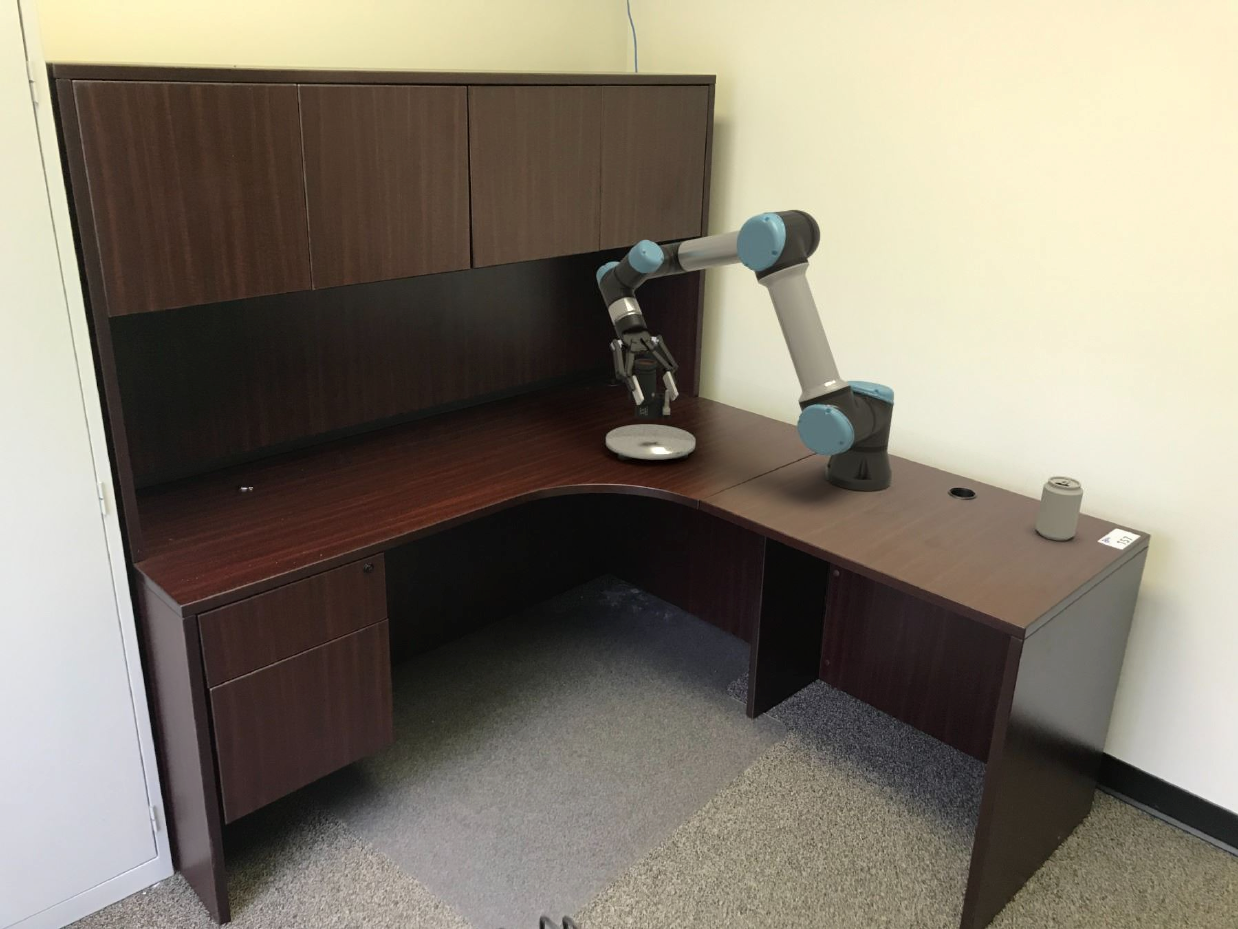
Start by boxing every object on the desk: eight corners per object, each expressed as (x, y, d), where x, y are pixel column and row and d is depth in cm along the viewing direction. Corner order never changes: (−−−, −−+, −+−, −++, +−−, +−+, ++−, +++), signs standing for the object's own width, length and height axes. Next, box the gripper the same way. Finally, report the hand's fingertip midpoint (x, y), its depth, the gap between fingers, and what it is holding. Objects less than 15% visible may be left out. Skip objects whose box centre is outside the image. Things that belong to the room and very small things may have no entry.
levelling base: (713, 455, 248) (714, 442, 247) (644, 473, 235) (644, 459, 234) (655, 431, 264) (655, 419, 263) (587, 447, 251) (588, 434, 250)
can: (1028, 533, 209) (1038, 479, 205) (1044, 524, 214) (1054, 471, 210) (1064, 545, 204) (1075, 490, 200) (1080, 535, 209) (1091, 481, 205)
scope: (673, 366, 238) (630, 365, 237) (670, 422, 243) (628, 421, 242) (668, 357, 246) (627, 357, 245) (666, 411, 251) (625, 411, 250)
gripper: (659, 325, 258) (689, 402, 251) (584, 332, 248) (612, 412, 241) (671, 308, 252) (702, 387, 244) (594, 315, 242) (624, 397, 235)
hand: (657, 399), depth 243 cm, fingers closed on scope, 9 cm apart
